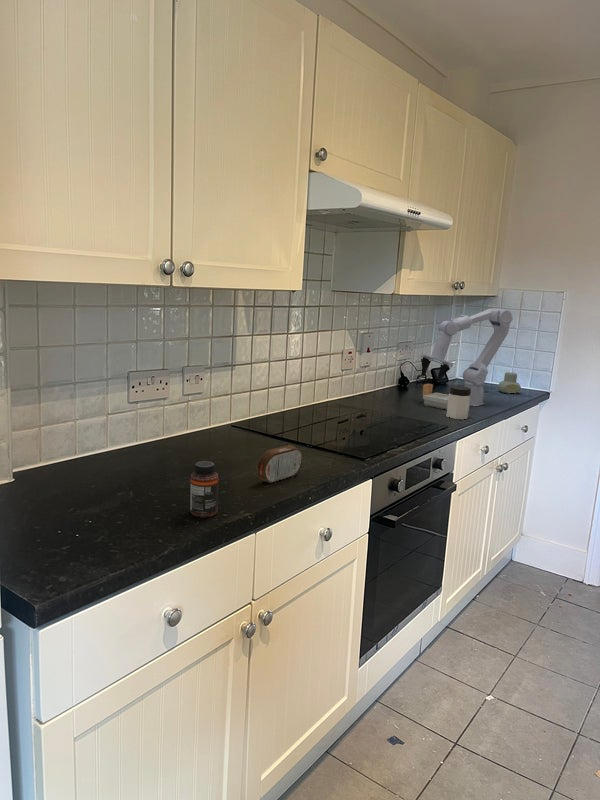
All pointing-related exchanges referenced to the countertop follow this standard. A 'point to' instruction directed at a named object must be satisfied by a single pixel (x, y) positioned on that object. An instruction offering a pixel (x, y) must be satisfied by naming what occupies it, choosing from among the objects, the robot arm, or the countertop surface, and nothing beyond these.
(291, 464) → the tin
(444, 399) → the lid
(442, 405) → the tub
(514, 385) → the air freshener
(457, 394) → the jar
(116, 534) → the countertop surface
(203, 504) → the supplement bottle
